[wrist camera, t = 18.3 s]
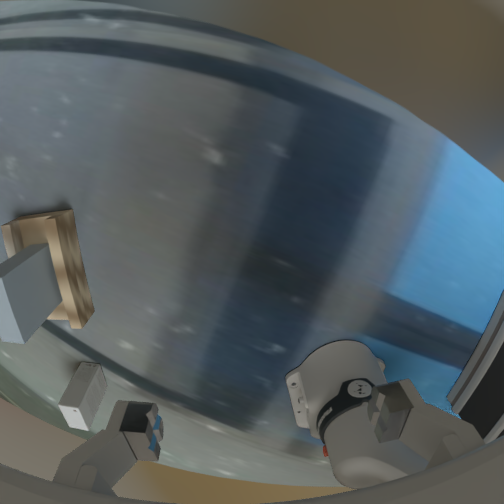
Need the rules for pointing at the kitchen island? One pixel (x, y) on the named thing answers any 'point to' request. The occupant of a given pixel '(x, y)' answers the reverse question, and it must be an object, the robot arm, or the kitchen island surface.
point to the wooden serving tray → (56, 259)
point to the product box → (27, 292)
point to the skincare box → (83, 396)
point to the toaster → (484, 382)
